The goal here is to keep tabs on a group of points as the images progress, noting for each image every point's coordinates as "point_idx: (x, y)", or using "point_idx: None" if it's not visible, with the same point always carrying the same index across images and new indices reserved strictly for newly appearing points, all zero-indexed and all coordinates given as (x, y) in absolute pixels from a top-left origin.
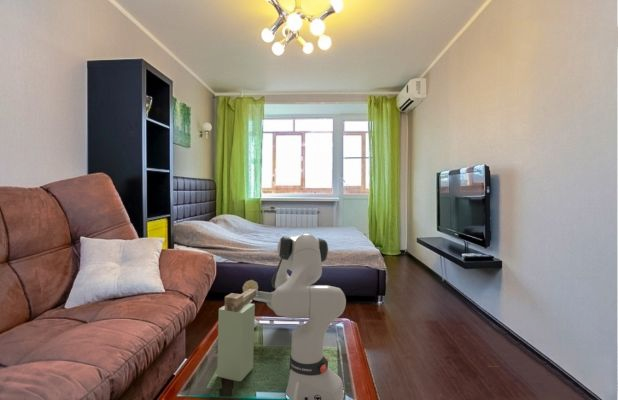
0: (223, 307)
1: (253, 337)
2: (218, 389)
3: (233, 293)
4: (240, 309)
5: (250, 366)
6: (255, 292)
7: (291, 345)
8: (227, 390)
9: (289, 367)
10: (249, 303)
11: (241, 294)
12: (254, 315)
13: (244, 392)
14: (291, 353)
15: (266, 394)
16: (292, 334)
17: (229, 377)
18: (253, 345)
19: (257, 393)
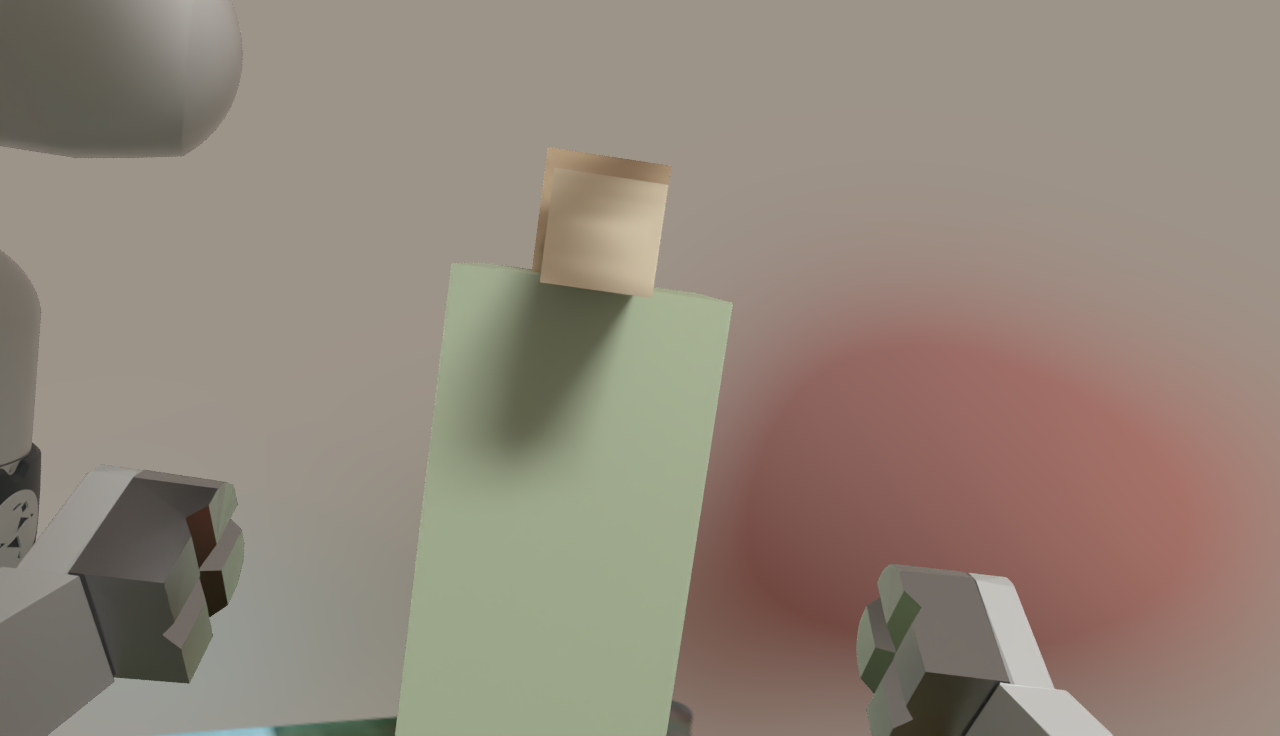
0: (687, 292)
1: (410, 623)
2: None
3: (648, 163)
4: (531, 270)
5: None
6: (550, 209)
7: (35, 372)
8: None
9: (36, 531)
10: (516, 272)
11: (566, 150)
12: (436, 391)
13: (355, 730)
14: (32, 422)
15: (196, 732)
16: (33, 295)
17: None
18: (398, 710)
19: (263, 732)
